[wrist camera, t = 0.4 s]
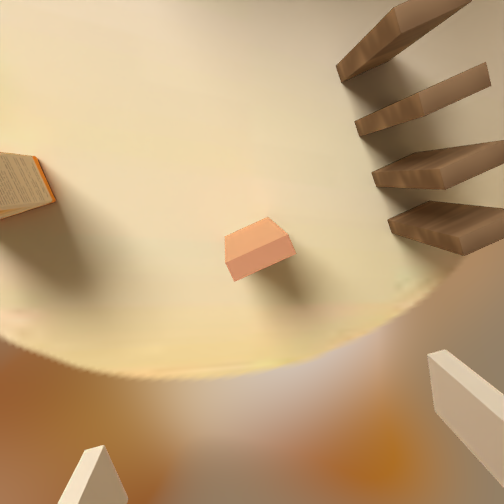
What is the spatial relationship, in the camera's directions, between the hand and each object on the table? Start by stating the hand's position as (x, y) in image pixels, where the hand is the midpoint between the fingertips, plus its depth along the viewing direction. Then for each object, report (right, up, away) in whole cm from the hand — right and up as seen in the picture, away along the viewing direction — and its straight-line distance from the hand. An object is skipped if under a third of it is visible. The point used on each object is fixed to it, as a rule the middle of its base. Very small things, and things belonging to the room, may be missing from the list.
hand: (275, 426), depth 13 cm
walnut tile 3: (+12, +20, +20) cm, 31 cm away
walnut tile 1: (+16, +11, +23) cm, 30 cm away
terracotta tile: (-1, +9, +21) cm, 23 cm away
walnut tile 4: (+10, +25, +19) cm, 33 cm away
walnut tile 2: (+14, +16, +21) cm, 30 cm away
